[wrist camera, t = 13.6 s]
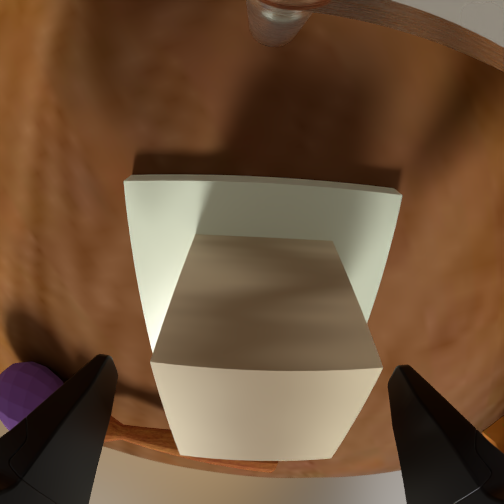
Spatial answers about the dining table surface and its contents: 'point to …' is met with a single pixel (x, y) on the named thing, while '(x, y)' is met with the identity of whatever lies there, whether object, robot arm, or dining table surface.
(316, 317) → the birch block
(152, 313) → the sage pad
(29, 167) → the dining table surface
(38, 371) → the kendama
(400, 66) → the dining table surface
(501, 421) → the decorative tree
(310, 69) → the dining table surface
